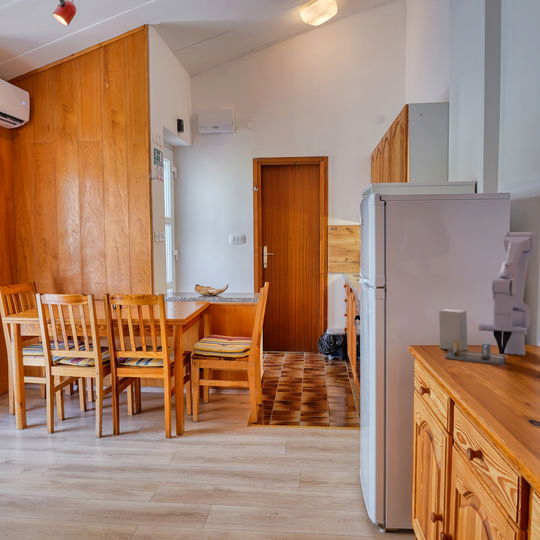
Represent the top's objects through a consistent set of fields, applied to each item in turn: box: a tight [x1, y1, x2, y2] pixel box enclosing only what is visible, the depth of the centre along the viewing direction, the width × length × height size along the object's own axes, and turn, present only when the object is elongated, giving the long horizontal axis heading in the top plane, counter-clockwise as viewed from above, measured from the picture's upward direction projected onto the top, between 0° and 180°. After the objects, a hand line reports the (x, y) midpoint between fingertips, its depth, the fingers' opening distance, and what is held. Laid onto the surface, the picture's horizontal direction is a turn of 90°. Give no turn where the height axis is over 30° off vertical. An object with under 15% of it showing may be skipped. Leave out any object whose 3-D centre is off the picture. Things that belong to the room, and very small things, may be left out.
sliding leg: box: [481, 341, 491, 357], centre depth 156 cm, size 7×2×4 cm, turn 150°
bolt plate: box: [444, 340, 506, 366], centre depth 158 cm, size 11×18×5 cm, turn 60°
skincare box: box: [438, 308, 468, 351], centre depth 171 cm, size 8×6×15 cm
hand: (501, 353), depth 155 cm, fingers closed
